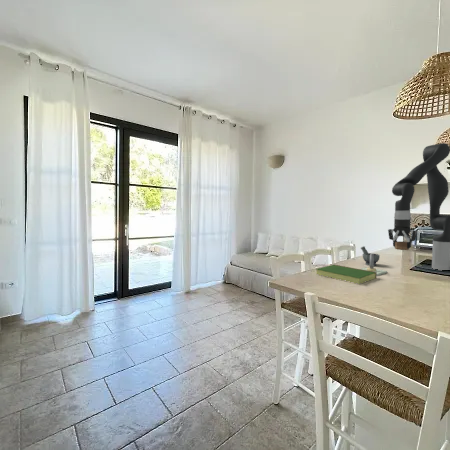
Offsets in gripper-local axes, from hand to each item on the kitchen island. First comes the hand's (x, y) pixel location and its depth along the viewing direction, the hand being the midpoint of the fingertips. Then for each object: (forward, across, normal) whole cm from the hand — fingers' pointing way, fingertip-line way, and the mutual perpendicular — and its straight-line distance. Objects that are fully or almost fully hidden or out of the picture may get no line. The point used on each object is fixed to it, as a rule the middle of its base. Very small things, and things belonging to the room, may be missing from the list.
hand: (401, 247), depth 144 cm
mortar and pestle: (+15, +22, -8) cm, 28 cm away
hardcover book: (+15, +15, +33) cm, 39 cm away
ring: (+1, 0, 0) cm, 1 cm away
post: (+15, +11, +12) cm, 22 cm away
